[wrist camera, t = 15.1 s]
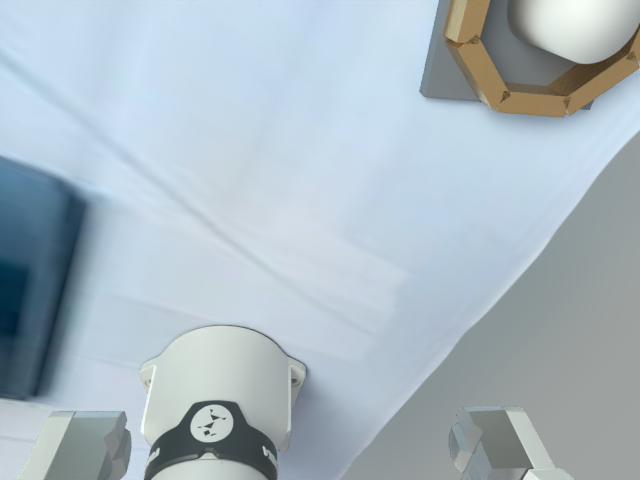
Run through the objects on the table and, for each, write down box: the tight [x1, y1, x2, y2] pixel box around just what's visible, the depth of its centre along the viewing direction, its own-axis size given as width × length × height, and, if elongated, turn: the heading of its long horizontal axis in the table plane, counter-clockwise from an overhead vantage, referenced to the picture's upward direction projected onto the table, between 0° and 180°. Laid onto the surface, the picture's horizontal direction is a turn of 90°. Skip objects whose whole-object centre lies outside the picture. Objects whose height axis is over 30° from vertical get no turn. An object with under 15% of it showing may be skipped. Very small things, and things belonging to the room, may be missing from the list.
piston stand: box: [420, 0, 640, 110], centre depth 29 cm, size 14×14×8 cm
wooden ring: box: [443, 0, 640, 117], centre depth 31 cm, size 14×14×3 cm
